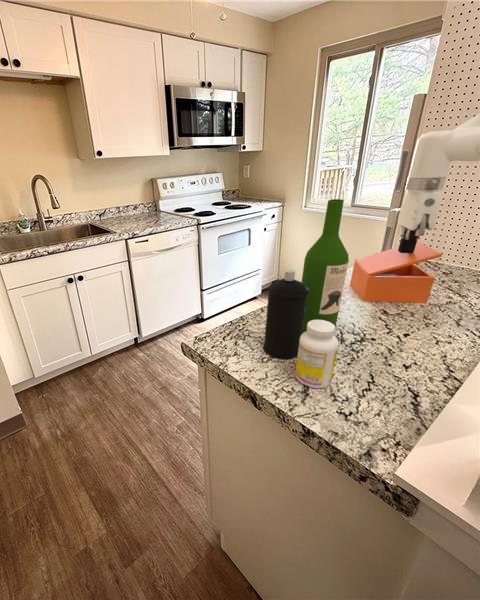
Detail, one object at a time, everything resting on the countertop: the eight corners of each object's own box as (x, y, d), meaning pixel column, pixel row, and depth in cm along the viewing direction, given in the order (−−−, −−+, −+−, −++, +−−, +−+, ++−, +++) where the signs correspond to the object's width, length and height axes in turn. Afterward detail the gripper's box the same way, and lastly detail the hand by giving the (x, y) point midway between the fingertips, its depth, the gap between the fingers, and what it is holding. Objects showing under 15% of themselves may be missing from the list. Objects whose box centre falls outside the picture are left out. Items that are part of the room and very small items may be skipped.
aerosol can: (281, 363, 69) (291, 281, 61) (255, 346, 76) (260, 269, 68) (308, 352, 72) (321, 272, 63) (280, 336, 79) (289, 262, 70)
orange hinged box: (406, 285, 98) (413, 262, 94) (426, 303, 87) (435, 277, 84) (349, 284, 102) (354, 262, 99) (362, 301, 91) (368, 276, 88)
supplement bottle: (316, 366, 67) (325, 314, 62) (338, 386, 61) (351, 330, 56) (288, 372, 67) (294, 320, 61) (307, 392, 61) (317, 337, 55)
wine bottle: (314, 343, 75) (337, 205, 61) (287, 326, 83) (303, 201, 69) (343, 334, 77) (371, 199, 63) (314, 318, 85) (334, 195, 71)
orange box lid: (418, 243, 92) (418, 240, 92) (441, 256, 81) (441, 253, 81) (355, 262, 99) (354, 259, 99) (368, 276, 88) (368, 273, 88)
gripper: (459, 186, 73) (435, 260, 81) (427, 180, 86) (409, 244, 94) (421, 188, 75) (401, 260, 83) (395, 182, 88) (380, 245, 96)
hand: (405, 252), depth 88 cm, fingers closed
